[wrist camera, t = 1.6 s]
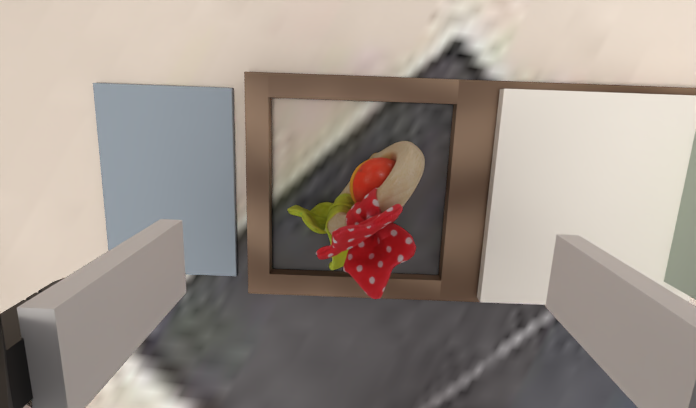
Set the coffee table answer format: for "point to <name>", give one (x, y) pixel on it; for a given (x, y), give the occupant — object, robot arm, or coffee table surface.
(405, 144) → the bird rattle
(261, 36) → the coffee table surface
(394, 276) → the puzzle board
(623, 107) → the sliding cover
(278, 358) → the coffee table surface
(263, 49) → the coffee table surface
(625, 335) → the robot arm
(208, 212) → the slate mat
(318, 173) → the coffee table surface
